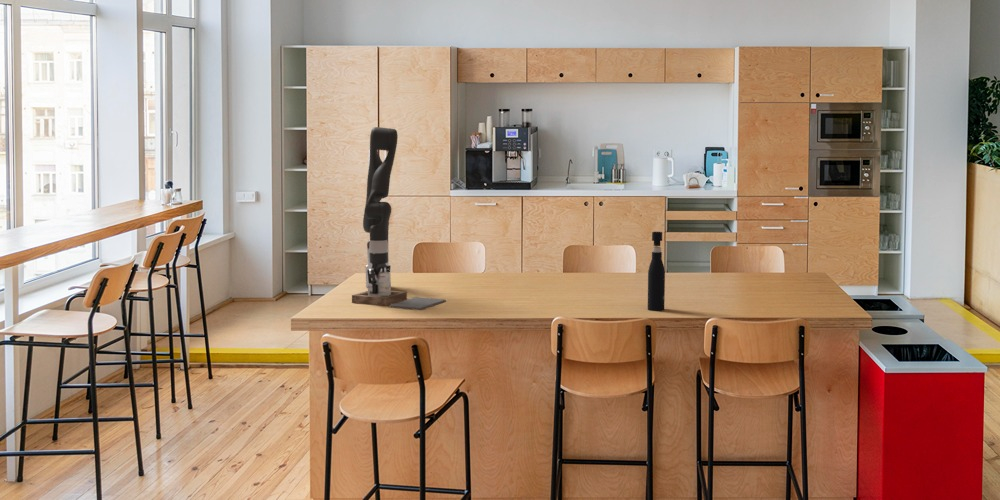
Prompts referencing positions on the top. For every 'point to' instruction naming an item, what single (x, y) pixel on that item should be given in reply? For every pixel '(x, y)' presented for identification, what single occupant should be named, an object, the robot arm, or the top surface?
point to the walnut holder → (379, 298)
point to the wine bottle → (656, 276)
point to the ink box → (381, 285)
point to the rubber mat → (417, 303)
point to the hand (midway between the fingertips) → (379, 292)
